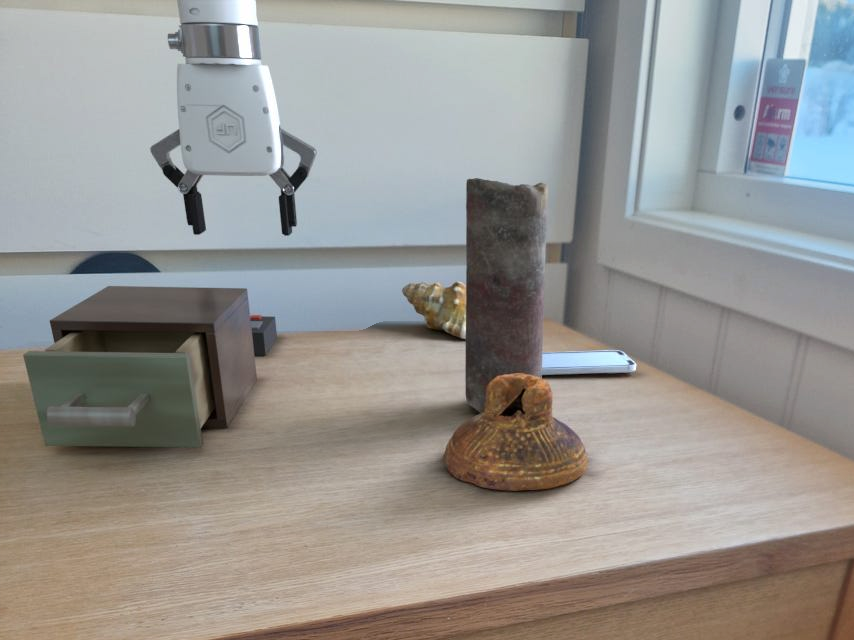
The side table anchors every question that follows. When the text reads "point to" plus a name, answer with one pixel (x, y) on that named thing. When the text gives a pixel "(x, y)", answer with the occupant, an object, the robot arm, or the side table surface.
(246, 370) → the cabinet
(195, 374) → the drawer
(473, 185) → the candle
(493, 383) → the bell
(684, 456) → the side table surface
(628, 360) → the smartphone
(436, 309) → the seashell
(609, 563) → the side table surface
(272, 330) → the remote
